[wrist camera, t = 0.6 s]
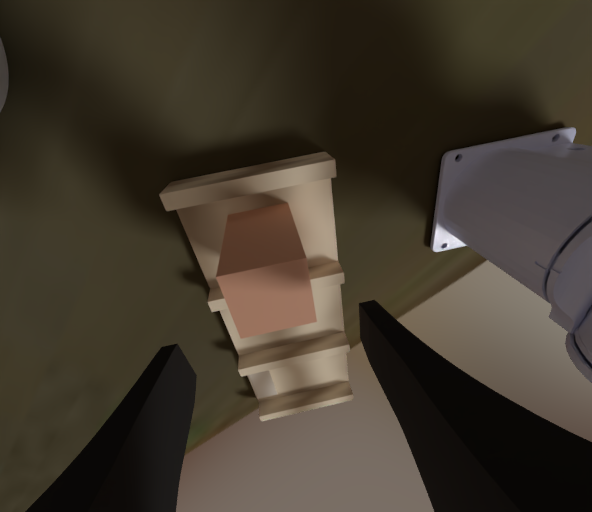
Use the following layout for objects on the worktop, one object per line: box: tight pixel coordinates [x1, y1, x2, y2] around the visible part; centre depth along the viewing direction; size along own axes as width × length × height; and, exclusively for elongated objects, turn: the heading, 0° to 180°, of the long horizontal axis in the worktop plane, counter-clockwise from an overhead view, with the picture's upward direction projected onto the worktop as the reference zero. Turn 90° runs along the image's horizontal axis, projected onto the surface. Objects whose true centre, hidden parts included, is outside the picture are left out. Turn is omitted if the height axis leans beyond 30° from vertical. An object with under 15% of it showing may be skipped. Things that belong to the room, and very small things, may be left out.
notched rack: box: [159, 151, 353, 421], centre depth 23 cm, size 10×25×2 cm, turn 9°
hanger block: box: [216, 203, 317, 339], centre depth 16 cm, size 4×4×7 cm
